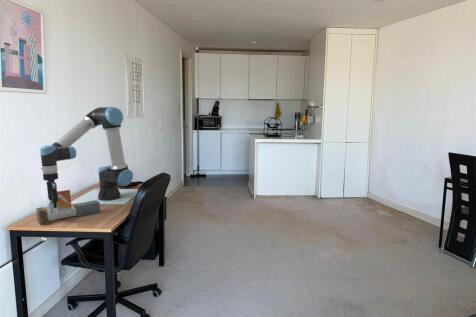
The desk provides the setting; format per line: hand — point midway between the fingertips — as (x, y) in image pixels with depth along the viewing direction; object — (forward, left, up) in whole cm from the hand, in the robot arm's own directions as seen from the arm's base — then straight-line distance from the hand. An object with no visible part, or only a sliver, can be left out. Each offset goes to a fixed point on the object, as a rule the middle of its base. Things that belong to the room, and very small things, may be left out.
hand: (54, 212), depth 202 cm
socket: (+6, 0, -5) cm, 8 cm away
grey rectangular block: (-18, 0, -5) cm, 19 cm away
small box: (-10, -20, -5) cm, 23 cm away
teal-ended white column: (-4, 0, -4) cm, 6 cm away
